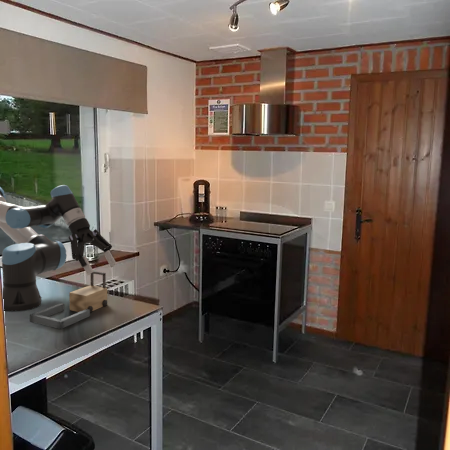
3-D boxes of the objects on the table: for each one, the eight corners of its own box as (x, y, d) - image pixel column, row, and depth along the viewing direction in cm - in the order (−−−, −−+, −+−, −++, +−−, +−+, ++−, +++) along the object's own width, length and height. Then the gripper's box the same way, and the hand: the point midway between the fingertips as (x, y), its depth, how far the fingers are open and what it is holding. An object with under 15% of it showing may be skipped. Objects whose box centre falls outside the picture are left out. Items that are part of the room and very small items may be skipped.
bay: (30, 321, 159) (29, 314, 159) (60, 309, 172) (60, 303, 172) (60, 329, 154) (60, 322, 153) (89, 316, 167) (89, 309, 166)
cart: (68, 310, 173) (67, 276, 171) (90, 301, 184) (89, 270, 182) (87, 314, 169) (87, 280, 167) (108, 305, 180) (108, 273, 178)
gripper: (58, 220, 164) (86, 272, 161) (104, 213, 186) (129, 258, 184) (46, 231, 167) (73, 281, 165) (92, 223, 190) (116, 267, 187)
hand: (102, 269), depth 174 cm, fingers open, 13 cm apart
